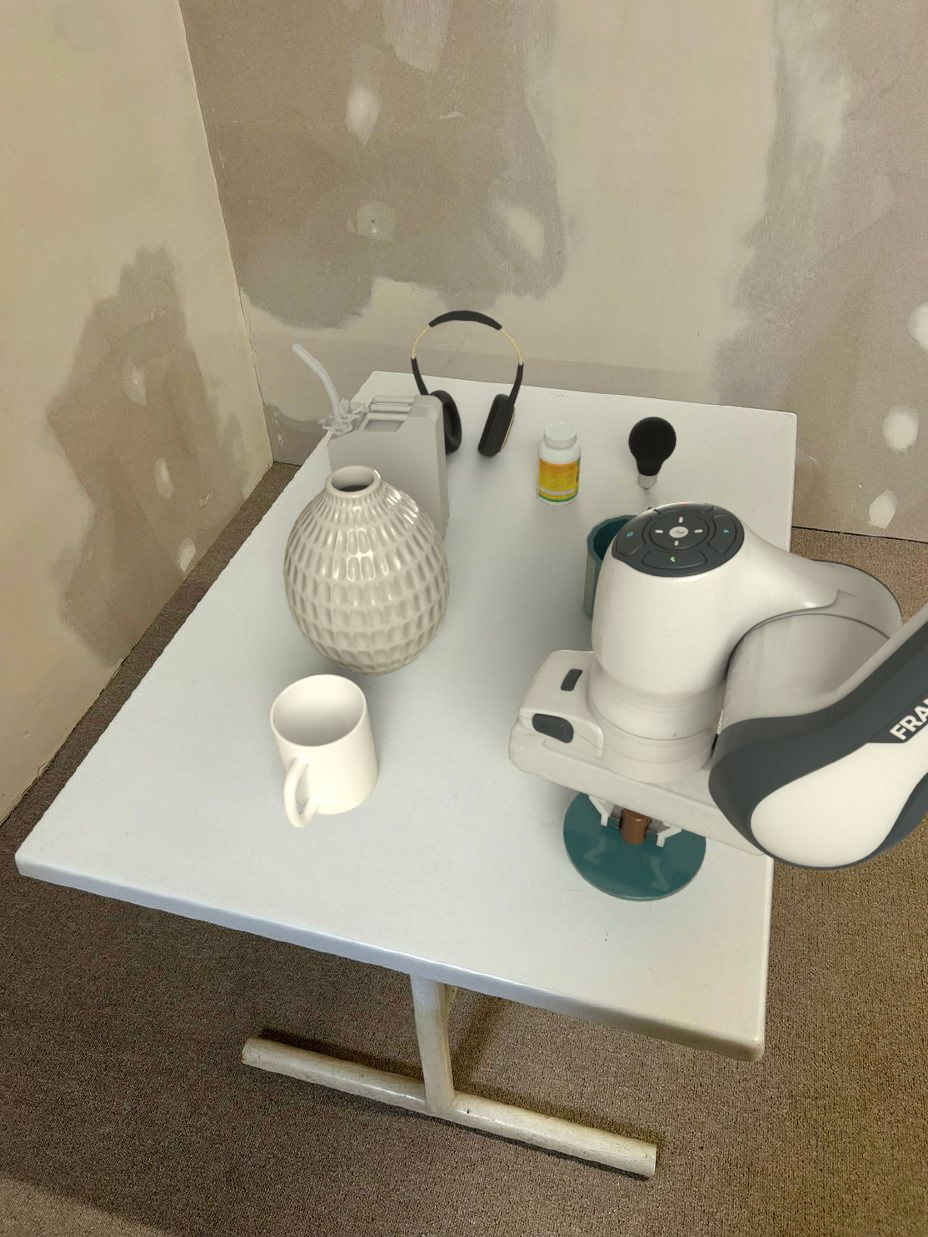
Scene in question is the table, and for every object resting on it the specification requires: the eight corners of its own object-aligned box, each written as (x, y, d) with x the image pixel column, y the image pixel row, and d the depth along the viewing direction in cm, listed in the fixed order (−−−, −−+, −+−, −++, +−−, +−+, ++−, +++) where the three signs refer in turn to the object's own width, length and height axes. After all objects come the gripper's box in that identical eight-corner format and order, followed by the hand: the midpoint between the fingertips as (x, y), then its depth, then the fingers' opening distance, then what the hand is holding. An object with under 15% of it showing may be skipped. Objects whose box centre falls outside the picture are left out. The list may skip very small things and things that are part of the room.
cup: (391, 754, 83) (380, 683, 76) (343, 862, 74) (326, 795, 67) (312, 736, 85) (294, 666, 78) (257, 840, 76) (231, 772, 69)
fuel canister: (321, 537, 107) (285, 348, 90) (332, 512, 111) (298, 327, 94) (443, 544, 105) (429, 353, 88) (449, 519, 109) (437, 331, 92)
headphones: (425, 430, 124) (414, 294, 111) (526, 437, 122) (528, 299, 108) (411, 463, 118) (398, 324, 105) (518, 471, 116) (519, 330, 102)
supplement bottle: (532, 485, 114) (534, 421, 107) (572, 480, 114) (576, 416, 107) (541, 509, 110) (543, 444, 103) (582, 504, 110) (587, 439, 104)
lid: (719, 811, 71) (729, 777, 68) (681, 929, 64) (689, 897, 61) (590, 766, 75) (593, 732, 72) (541, 872, 68) (541, 839, 65)
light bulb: (623, 473, 115) (630, 406, 108) (668, 475, 114) (678, 408, 107) (623, 499, 111) (630, 431, 104) (669, 502, 110) (680, 433, 103)
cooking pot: (694, 573, 100) (705, 514, 94) (653, 664, 90) (662, 605, 84) (608, 550, 103) (614, 492, 98) (559, 635, 93) (562, 576, 88)
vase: (473, 615, 96) (466, 443, 81) (424, 724, 85) (405, 549, 70) (339, 589, 100) (308, 420, 85) (276, 690, 89) (228, 518, 74)
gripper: (818, 731, 57) (777, 844, 67) (532, 644, 64) (532, 757, 74) (800, 805, 53) (758, 914, 63) (497, 703, 60) (501, 815, 70)
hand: (634, 829), depth 68 cm, fingers closed on lid, 2 cm apart
